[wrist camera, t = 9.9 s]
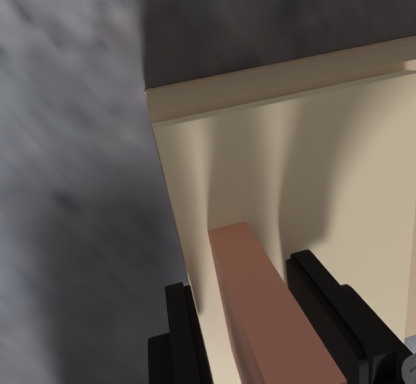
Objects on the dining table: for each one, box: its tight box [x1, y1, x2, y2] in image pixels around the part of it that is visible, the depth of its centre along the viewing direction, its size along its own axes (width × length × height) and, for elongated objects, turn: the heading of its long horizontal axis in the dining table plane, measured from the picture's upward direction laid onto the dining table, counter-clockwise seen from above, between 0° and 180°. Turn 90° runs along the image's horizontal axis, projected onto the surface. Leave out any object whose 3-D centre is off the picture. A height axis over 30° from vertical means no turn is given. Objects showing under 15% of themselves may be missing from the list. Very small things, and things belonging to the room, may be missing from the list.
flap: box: [152, 70, 416, 384], centre depth 9 cm, size 8×12×6 cm
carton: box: [144, 35, 416, 384], centre depth 16 cm, size 16×12×8 cm
